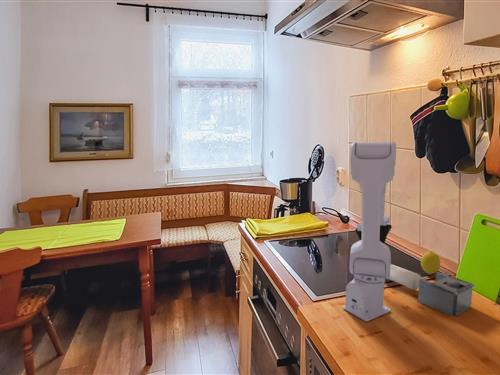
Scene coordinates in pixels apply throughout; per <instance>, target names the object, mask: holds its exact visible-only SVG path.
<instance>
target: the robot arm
mask: <svg viewBox="0 0 500 375" xmlns="http://www.w3.org/2000/svg"><path fill="white" fill-rule="evenodd" d="M396 160H397V143H396V142H395V141H391V142H390V141H377V142H376V141H370V142H369V141H368V142H367V141H365V142H363V141H362V142H357V141H354V142H353V143H352V144H351V146H350V162H349V163H350V176H351V180H352V181H355V182H356V183H358V185H359V189H360V190H359V191H360V192H361V221H360V222H359V223H357V228H355V233H356V235H357V237H358V241H356V242H355V243H353V244H352V246H351V247H350V252H349V253H350V255H349V264H348V265H349V273H350V274H351V275H353V279H352V280H350V282H348V283H347V284H346V287H345V304H344V305H343V306H342V309H343V310H345V311H347V312H349V313H350V314H352V315H354V316H356V317H357V318H359V319H361V320H362V321H364V322H369V321H371V320H374V319H376V318H378V317H380V316H382V315H386V314H387V313H391V311H392V309H391V308H389V307H388V306H386V305H384V304H385V301H384V300H385V282H386V280H389V279H388V278H389V277H390V270H391V264H392V263H391V262H392V257H391V255H392V254H391V250H390V247H389V246H388V245H386V244H385V243H386V239H387V237H388V235H389V233H390V231H391V230H392V228H393V227H392V224H390V220H391V219H390V218H391V217H390V216H385V208H386V207H385V206H386V205H385V204H386V202H385V201H386V193H387V192H386V190H387V185H388V183H389V182H392V181H393V180H394V176H395V169H396V162H397V161H396ZM385 270H386V274H385ZM385 275H386V279H385Z"/></svg>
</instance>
